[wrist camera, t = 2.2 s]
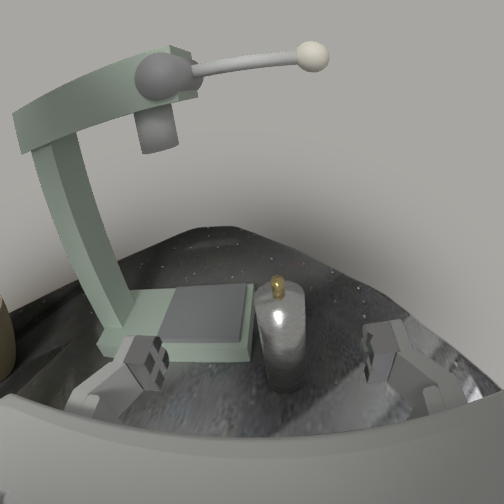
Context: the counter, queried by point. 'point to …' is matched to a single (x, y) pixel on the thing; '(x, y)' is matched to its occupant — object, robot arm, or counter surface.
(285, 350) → the housing
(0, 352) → the beige bowl
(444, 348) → the counter surface
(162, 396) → the counter surface
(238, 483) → the robot arm
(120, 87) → the press
